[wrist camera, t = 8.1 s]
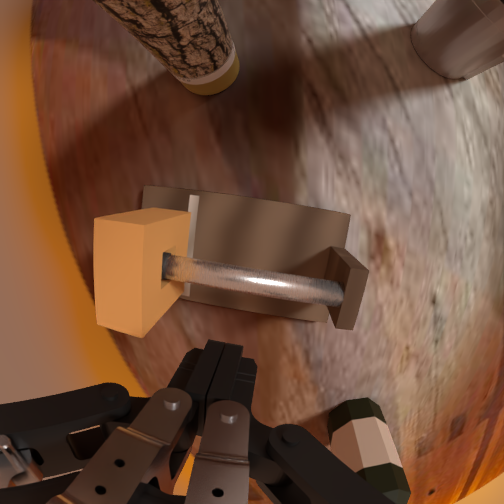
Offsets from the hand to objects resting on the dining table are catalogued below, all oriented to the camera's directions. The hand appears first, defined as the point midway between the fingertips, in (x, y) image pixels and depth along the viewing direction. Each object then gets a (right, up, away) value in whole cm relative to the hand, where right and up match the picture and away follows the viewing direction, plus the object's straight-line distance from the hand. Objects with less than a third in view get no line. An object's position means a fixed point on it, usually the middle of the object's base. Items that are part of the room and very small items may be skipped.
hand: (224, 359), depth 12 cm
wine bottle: (+16, -20, +23) cm, 34 cm away
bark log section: (-3, +25, +15) cm, 29 cm away
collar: (-7, +5, +16) cm, 18 cm away
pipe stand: (0, +5, +19) cm, 20 cm away
